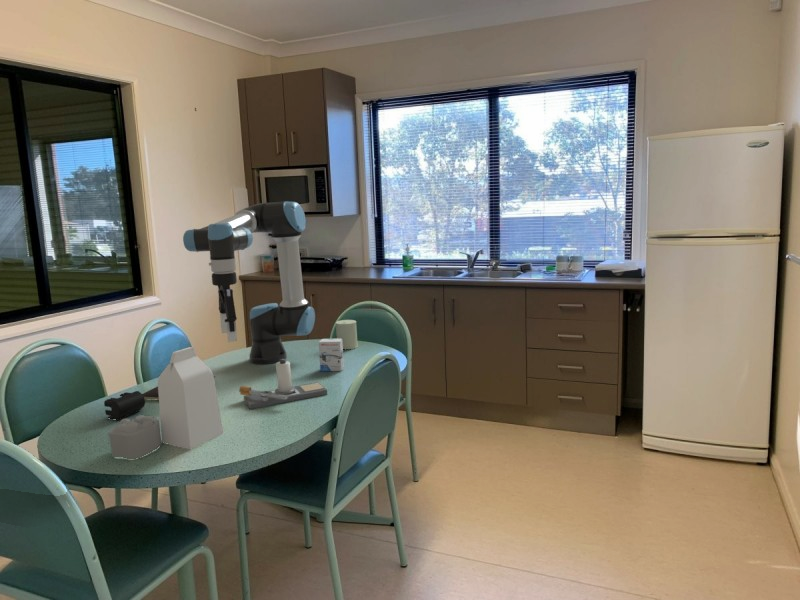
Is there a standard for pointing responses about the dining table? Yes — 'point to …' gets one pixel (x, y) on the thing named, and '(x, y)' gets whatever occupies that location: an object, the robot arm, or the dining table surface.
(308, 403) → the dining table surface
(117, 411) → the end cap
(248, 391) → the clip
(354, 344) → the cream tapered cylinder
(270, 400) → the grey slotted tray
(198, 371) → the milk
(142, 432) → the lumpy-topped squat cylinder
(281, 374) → the plug
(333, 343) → the ink box
